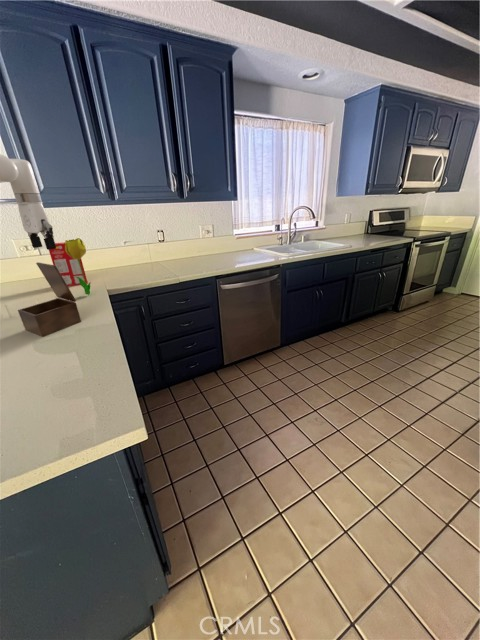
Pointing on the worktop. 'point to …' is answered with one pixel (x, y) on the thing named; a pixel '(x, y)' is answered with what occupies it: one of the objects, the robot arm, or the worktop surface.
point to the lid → (56, 281)
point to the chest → (49, 316)
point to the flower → (77, 257)
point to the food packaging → (67, 265)
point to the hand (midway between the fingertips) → (44, 248)
